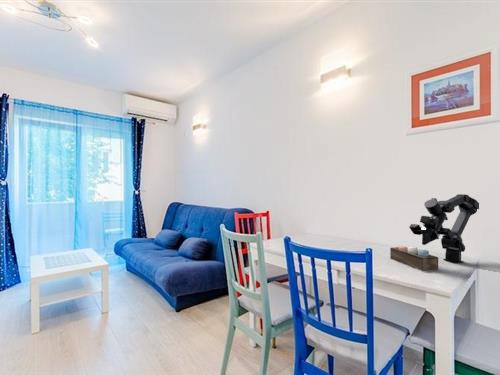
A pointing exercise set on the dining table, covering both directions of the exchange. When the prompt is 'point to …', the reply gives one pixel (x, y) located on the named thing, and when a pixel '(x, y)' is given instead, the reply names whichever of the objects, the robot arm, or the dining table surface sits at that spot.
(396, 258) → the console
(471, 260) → the dining table surface
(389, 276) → the dining table surface
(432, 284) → the dining table surface
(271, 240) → the dining table surface
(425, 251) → the slate button
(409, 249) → the cream button
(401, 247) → the terracotta button
